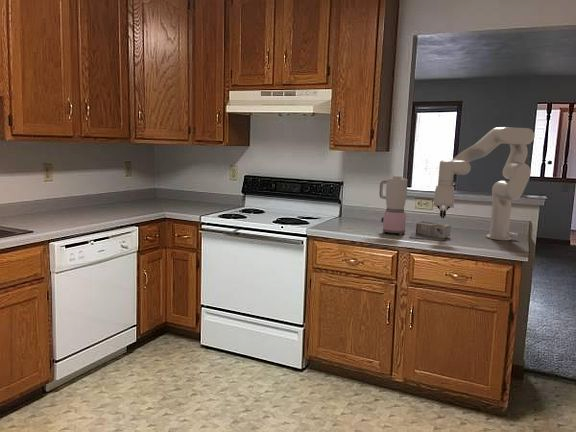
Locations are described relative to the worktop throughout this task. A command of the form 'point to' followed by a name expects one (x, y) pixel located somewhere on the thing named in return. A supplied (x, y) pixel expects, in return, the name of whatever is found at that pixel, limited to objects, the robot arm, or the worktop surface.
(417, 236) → the mat
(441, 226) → the coffee box
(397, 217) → the blender
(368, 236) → the worktop surface
